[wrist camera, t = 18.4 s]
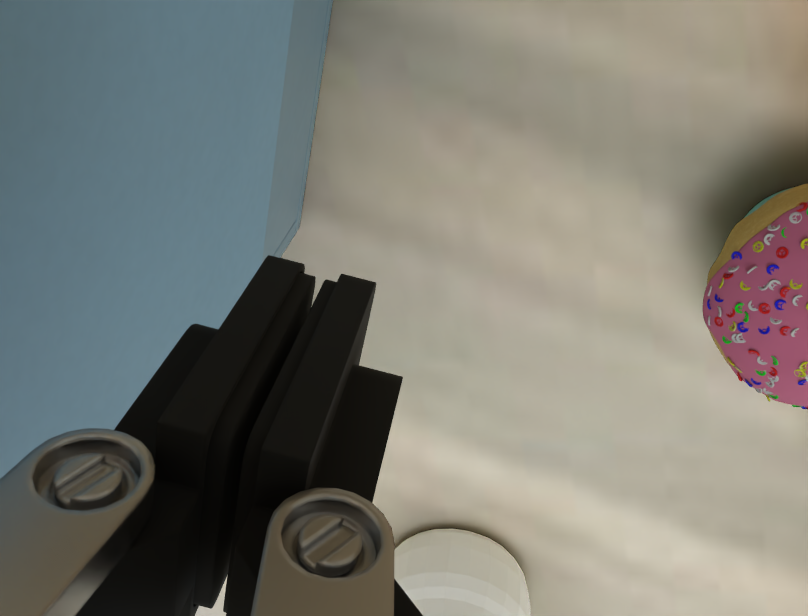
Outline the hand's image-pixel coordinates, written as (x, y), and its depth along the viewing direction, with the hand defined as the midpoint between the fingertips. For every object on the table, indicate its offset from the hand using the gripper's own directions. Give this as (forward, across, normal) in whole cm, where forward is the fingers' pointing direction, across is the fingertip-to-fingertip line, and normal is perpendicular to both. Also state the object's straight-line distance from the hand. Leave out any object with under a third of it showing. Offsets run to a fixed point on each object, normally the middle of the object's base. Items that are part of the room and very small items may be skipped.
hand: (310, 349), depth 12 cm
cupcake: (+19, -15, +3) cm, 24 cm away
